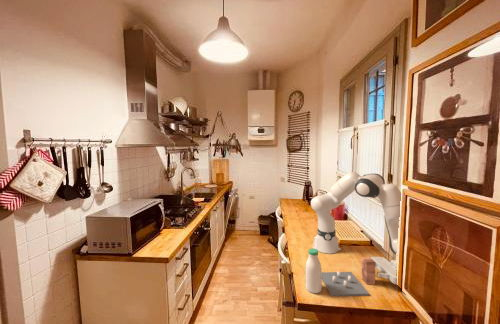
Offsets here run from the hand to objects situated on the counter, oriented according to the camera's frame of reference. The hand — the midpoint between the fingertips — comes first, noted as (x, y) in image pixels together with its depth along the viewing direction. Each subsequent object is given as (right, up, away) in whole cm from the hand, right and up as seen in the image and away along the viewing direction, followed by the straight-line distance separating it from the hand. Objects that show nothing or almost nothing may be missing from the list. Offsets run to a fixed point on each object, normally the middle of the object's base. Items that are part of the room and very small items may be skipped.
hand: (372, 269), depth 110 cm
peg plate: (-16, -7, -1) cm, 18 cm away
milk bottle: (-32, -8, -4) cm, 33 cm away
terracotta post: (-2, -7, 0) cm, 7 cm away
